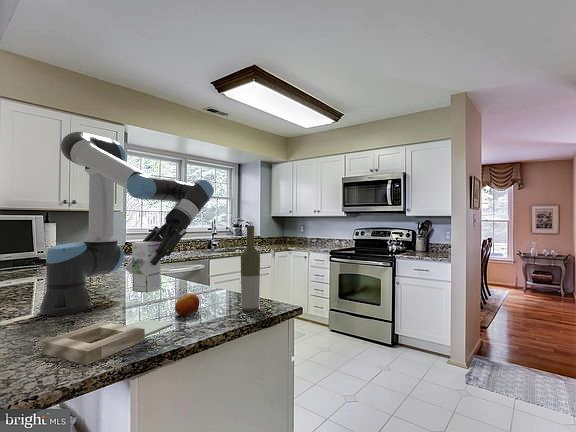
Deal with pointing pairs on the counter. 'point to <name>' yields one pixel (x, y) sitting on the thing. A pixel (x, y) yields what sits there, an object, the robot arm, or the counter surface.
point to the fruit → (187, 305)
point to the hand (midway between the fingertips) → (135, 271)
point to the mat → (150, 325)
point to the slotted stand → (86, 353)
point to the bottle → (250, 274)
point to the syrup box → (139, 257)
